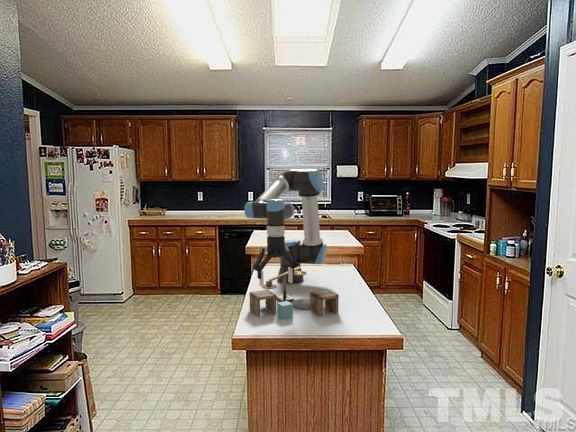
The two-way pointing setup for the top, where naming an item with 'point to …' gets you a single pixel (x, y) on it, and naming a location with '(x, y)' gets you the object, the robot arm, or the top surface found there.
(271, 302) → the cover
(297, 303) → the dish
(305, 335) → the top surface
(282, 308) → the block
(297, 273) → the balance
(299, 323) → the top surface
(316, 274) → the top surface
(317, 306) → the cover
